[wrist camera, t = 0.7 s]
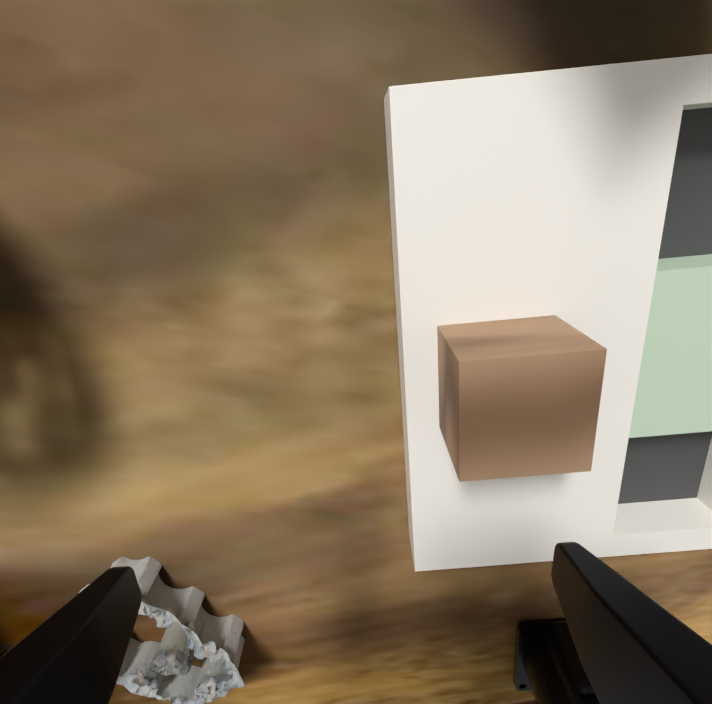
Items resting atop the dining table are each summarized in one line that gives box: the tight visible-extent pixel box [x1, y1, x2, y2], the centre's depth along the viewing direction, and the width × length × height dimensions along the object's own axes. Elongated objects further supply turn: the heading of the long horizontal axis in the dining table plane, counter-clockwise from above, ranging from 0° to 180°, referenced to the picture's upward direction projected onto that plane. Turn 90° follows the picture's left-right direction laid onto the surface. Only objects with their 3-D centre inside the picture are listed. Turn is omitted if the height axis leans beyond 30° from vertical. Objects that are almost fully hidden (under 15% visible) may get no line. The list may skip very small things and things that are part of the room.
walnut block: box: [437, 315, 607, 482], centre depth 17 cm, size 5×5×4 cm
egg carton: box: [79, 557, 245, 704], centre depth 27 cm, size 11×8×4 cm
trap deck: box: [384, 54, 712, 571], centre depth 20 cm, size 23×18×2 cm
